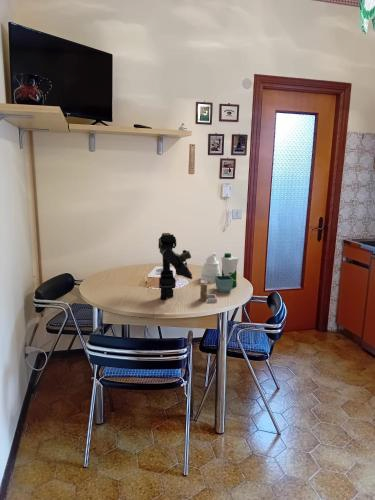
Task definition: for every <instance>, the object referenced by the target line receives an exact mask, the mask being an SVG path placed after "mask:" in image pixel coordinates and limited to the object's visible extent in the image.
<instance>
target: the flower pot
mask: <svg viewBox="0 0 375 500" xmlns="http://www.w3.org/2000/svg"><path fill="white" fill-rule="evenodd" d="M214 283H215V287H216V289H217V291H218V292H219V293H230V292H232V288H233V287H232V285H233V279H232V278H231V277H230V276H222V275H221V276H215V282H214Z"/></svg>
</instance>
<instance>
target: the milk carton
mask: <svg viewBox="0 0 375 500" xmlns="http://www.w3.org/2000/svg"><path fill="white" fill-rule="evenodd" d="M220 259H221V276H230V277H231V278H232V279H233V285H232V288H235V287H237V286H238V285H237V284H238V283H237V272H238V262H239V257H236V256H233V255H232V254H231V253H230V252H229V253H228V252H224V256H220Z"/></svg>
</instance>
